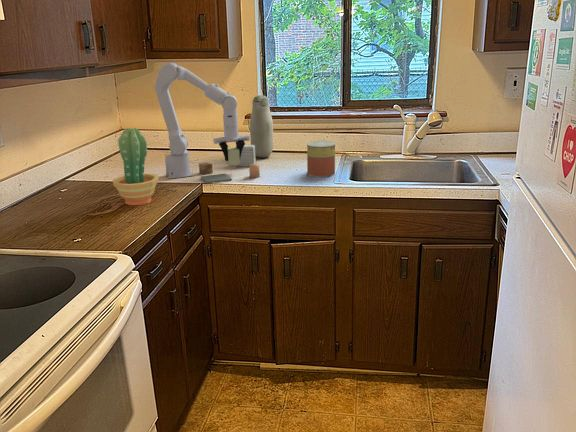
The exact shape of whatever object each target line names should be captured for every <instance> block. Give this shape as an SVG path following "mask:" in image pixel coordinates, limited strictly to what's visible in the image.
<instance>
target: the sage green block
mask: <svg viewBox="0 0 576 432" xmlns="http://www.w3.org/2000/svg"><path fill="white" fill-rule="evenodd" d="M225 164H227V165H228V166H236V165H238V164H240V156H239V149H237V148H235V147H228V161H226V160H225Z"/></svg>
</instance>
